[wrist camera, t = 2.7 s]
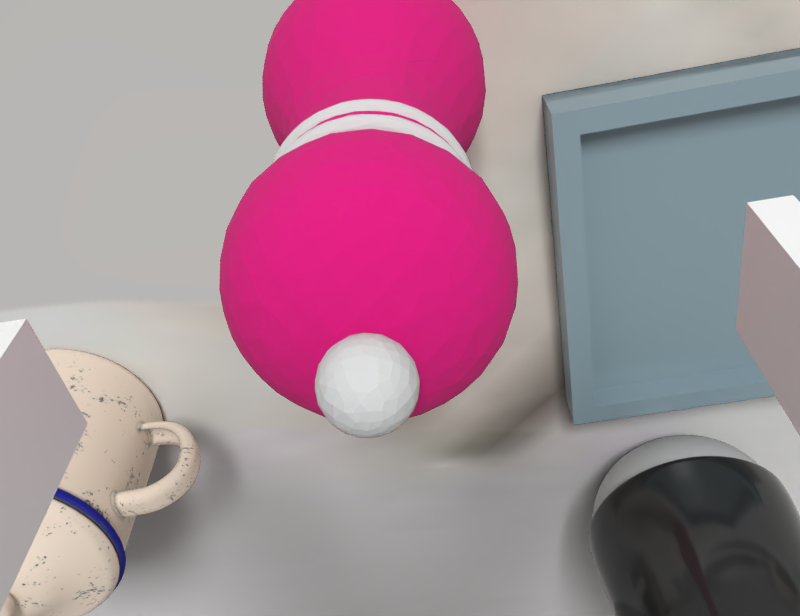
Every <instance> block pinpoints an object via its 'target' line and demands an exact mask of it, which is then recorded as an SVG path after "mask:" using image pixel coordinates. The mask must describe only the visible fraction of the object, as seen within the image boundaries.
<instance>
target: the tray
mask: <svg viewBox="0 0 800 616" xmlns="http://www.w3.org/2000/svg"><path fill="white" fill-rule="evenodd" d="M542 99H543V111H544V124H545V137H546V149H547V162H548V175H549V188H550V200H551V213H552V226H553V238H554V251H555V264H556V276H557V289H558V302H559V314H560V327H561V340H562V353H563V365H564V378H565V391H566V399H567V402H568V406H569V409H570V413H571V416H572V419H573V423H574V425H577V424H584V423H591V422H598V421H605V420H612V419H618V418H625V417H632V416H639V415H646V414H653V413H660V412H667V411H674V410H681V409H687V408H694V407H701V406H708V405H715V404H722V403H729V402H736V401H743V400H749V399H756V398H763V397H770V396H775V394H774V392H773V391H772V389H771V387H770V386H769V384H768V382H767V381H766V379H765V377H764V376H763V374H762V372H761V371H760V369H759V368H758V366H757V364H756V363H755V361H754V359H753V358H752V356H751V354H750V353H749V351H748V349H747V348H746V346H745V344H744V343H743V341H742V339H741V338H740V336H739V334H738V333H737V331H736V318H737V307H738V296H739V284H740V273H741V262H742V251H743V240H744V228H745V217H746V206H747V202H753V201H759V200H766V199H772V198H778V197H784V196H790V195H794V196H795V197H796V198H797V200H798V201H799V202H800V48H796V49H791V50H785V51H780V52H774V53H769V54H764V55H758V56H753V57H747V58H742V59H736V60H731V61H726V62H720V63H715V64H709V65H704V66H698V67H693V68H688V69H682V70H677V71H671V72H666V73H661V74H655V75H650V76H644V77H639V78H633V79H628V80H623V81H617V82H612V83H606V84H601V85H595V86H590V87H585V88H579V89H574V90H568V91H563V92H557V93H552V94H547V95H542Z"/></svg>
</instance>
